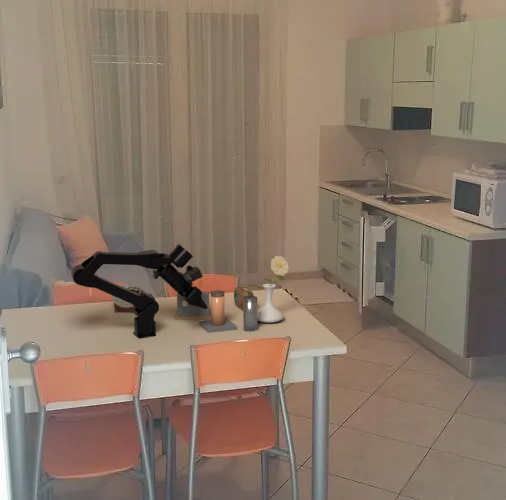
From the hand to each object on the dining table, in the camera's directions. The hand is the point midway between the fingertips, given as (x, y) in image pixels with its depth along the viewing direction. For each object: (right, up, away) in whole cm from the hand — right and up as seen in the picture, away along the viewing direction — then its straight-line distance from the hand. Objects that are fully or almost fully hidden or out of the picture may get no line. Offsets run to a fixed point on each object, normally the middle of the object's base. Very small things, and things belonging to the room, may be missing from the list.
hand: (202, 304), depth 250 cm
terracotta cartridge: (+5, -7, +4) cm, 10 cm away
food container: (-31, -4, +22) cm, 38 cm away
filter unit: (-5, -6, +16) cm, 17 cm away
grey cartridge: (+17, -9, +1) cm, 19 cm away
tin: (+15, -4, +26) cm, 30 cm away
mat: (+5, -8, +4) cm, 10 cm away
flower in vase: (+25, -7, +11) cm, 28 cm away
